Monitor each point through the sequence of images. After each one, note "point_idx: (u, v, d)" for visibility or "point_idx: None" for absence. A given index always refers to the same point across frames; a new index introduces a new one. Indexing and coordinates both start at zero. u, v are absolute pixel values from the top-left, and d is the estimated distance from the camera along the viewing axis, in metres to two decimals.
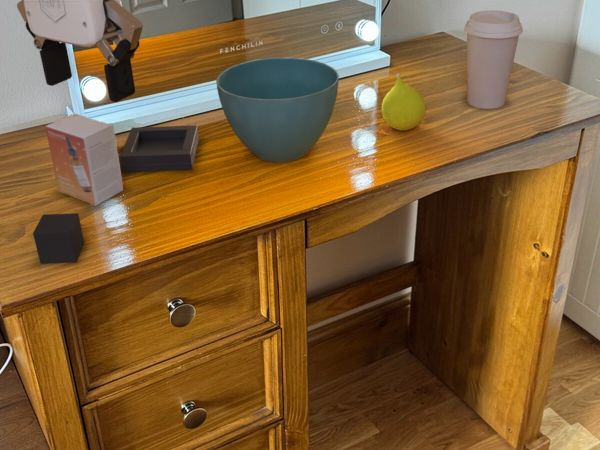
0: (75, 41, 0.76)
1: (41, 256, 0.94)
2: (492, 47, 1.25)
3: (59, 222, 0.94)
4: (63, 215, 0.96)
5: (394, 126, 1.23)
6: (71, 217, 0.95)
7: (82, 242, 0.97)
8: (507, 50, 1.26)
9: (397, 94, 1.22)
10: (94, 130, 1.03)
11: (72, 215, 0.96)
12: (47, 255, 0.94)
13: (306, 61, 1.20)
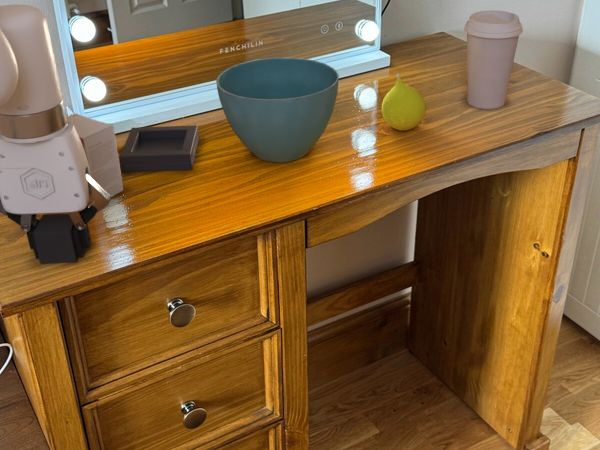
0: (65, 210, 0.90)
1: (41, 256, 0.94)
2: (492, 47, 1.25)
3: (59, 222, 0.94)
4: (63, 215, 0.96)
5: (394, 126, 1.23)
6: None
7: None
8: (507, 50, 1.26)
9: (397, 94, 1.22)
10: (94, 130, 1.03)
11: None
12: (47, 255, 0.94)
13: (306, 61, 1.20)
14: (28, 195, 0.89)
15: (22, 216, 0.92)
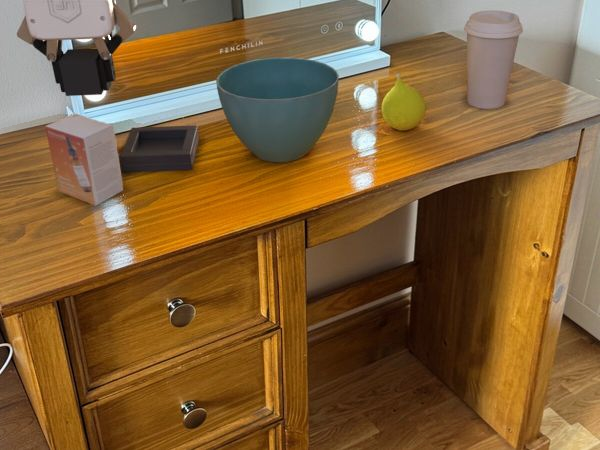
0: (91, 34, 0.91)
1: (67, 87, 0.95)
2: (492, 47, 1.25)
3: (84, 54, 0.95)
4: (88, 49, 0.96)
5: (394, 126, 1.23)
6: (96, 50, 0.96)
7: None
8: (507, 50, 1.26)
9: (397, 94, 1.22)
10: (94, 130, 1.03)
11: (97, 49, 0.96)
12: (72, 87, 0.95)
13: (306, 61, 1.20)
14: (54, 18, 0.90)
15: (48, 44, 0.93)
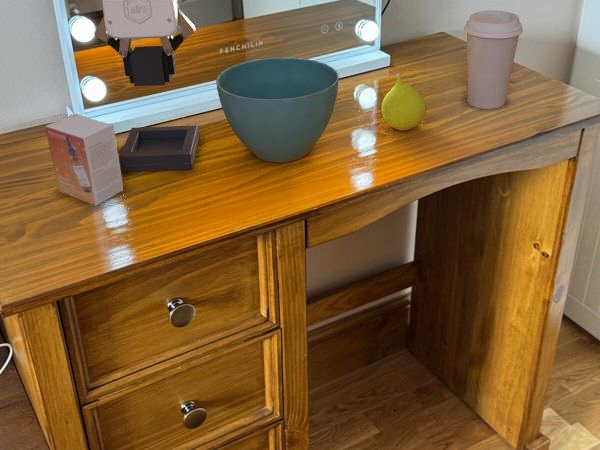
0: (159, 34, 1.07)
1: (135, 79, 1.11)
2: (492, 47, 1.25)
3: (150, 50, 1.11)
4: (152, 46, 1.13)
5: (394, 126, 1.23)
6: (160, 47, 1.12)
7: None
8: (507, 50, 1.26)
9: (397, 94, 1.22)
10: (94, 130, 1.03)
11: (160, 46, 1.13)
12: (140, 78, 1.11)
13: (306, 61, 1.20)
14: (129, 20, 1.06)
15: (121, 42, 1.09)
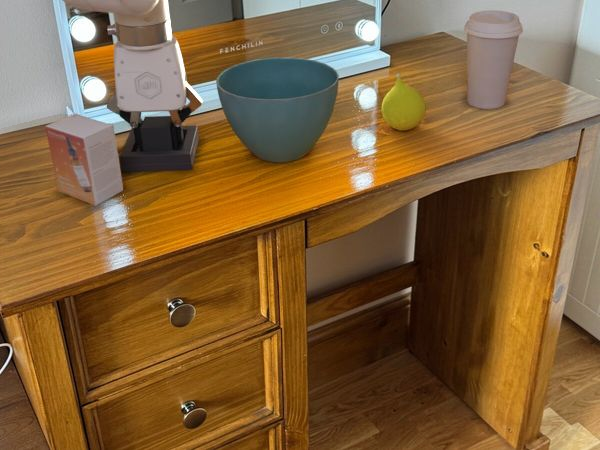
0: (168, 108, 1.13)
1: (145, 148, 1.17)
2: (492, 47, 1.25)
3: (159, 121, 1.17)
4: (162, 117, 1.18)
5: (394, 126, 1.23)
6: (168, 118, 1.18)
7: None
8: (507, 50, 1.26)
9: (397, 94, 1.22)
10: (94, 130, 1.03)
11: (169, 117, 1.18)
12: (150, 148, 1.17)
13: (306, 61, 1.20)
14: (140, 95, 1.12)
15: (132, 115, 1.15)
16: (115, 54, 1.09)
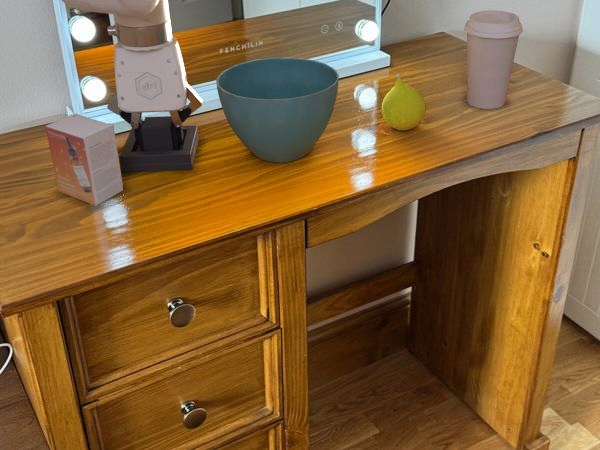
0: (168, 108, 1.13)
1: (146, 149, 1.17)
2: (492, 47, 1.25)
3: (160, 121, 1.17)
4: (162, 117, 1.19)
5: (394, 126, 1.23)
6: (169, 118, 1.18)
7: None
8: (507, 50, 1.26)
9: (397, 94, 1.22)
10: (94, 130, 1.03)
11: (169, 117, 1.19)
12: (150, 148, 1.17)
13: (306, 61, 1.20)
14: (140, 96, 1.12)
15: (132, 115, 1.15)
16: (115, 55, 1.09)
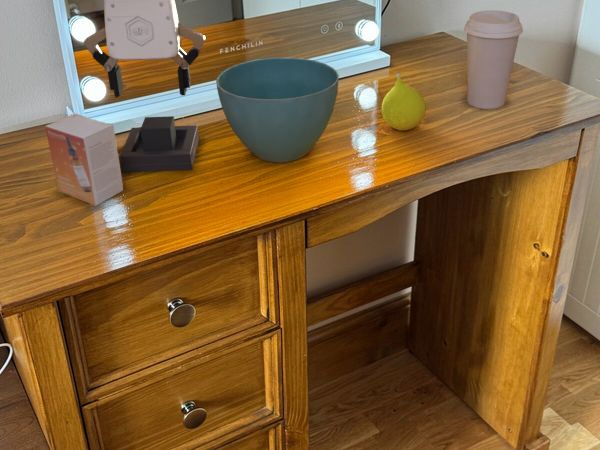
0: (160, 56, 1.09)
1: (145, 149, 1.17)
2: (492, 47, 1.25)
3: (159, 122, 1.17)
4: (162, 117, 1.19)
5: (394, 126, 1.23)
6: (169, 118, 1.18)
7: (175, 141, 1.20)
8: (507, 50, 1.26)
9: (397, 94, 1.22)
10: (94, 130, 1.03)
11: (169, 117, 1.19)
12: (150, 148, 1.17)
13: (306, 61, 1.20)
14: (131, 41, 1.07)
15: (111, 57, 1.10)
16: None
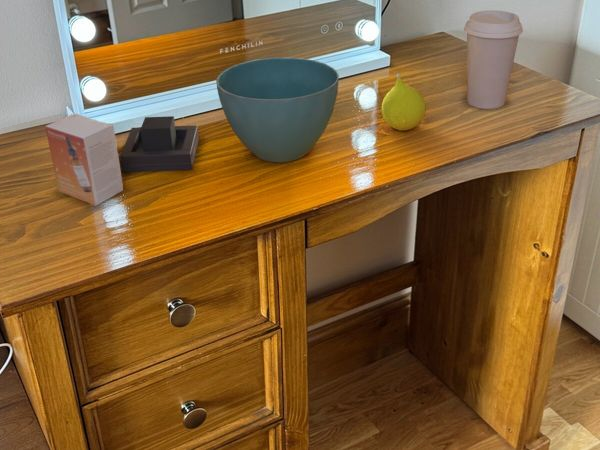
0: None
1: (145, 149, 1.17)
2: (492, 47, 1.25)
3: (159, 122, 1.17)
4: (162, 117, 1.19)
5: (394, 126, 1.23)
6: (169, 118, 1.18)
7: (175, 141, 1.20)
8: (507, 50, 1.26)
9: (397, 94, 1.22)
10: (94, 130, 1.03)
11: (169, 117, 1.19)
12: (150, 148, 1.17)
13: (306, 61, 1.20)
14: None
15: None
16: None
